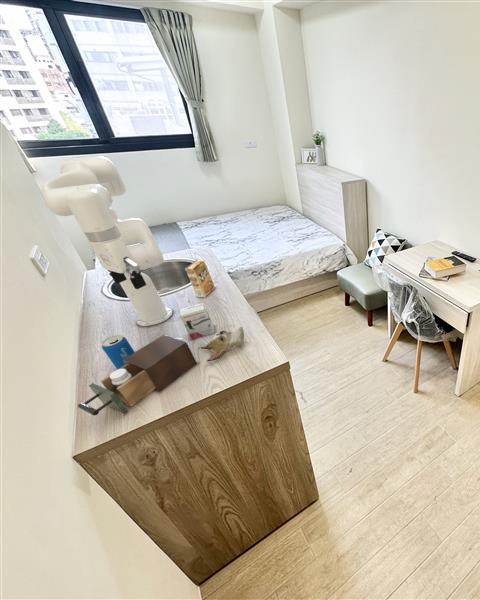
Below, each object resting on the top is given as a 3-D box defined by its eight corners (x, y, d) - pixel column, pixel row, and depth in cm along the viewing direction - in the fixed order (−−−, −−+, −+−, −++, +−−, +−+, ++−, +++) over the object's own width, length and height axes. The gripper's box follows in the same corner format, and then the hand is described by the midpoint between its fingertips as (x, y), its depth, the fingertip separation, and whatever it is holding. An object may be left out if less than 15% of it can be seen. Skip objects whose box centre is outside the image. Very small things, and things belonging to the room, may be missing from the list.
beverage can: (124, 375, 107) (105, 349, 100) (114, 369, 110) (96, 342, 103) (144, 363, 112) (128, 337, 105) (135, 357, 114) (118, 331, 108)
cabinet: (160, 392, 101) (145, 369, 95) (137, 382, 105) (122, 359, 99) (197, 363, 111) (186, 342, 106) (175, 355, 115) (163, 334, 109)
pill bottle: (123, 389, 99) (109, 370, 95) (141, 384, 101) (128, 365, 97) (120, 400, 96) (106, 381, 91) (139, 394, 98) (125, 375, 93)
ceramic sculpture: (245, 329, 113) (200, 350, 105) (253, 347, 118) (210, 368, 110) (236, 316, 120) (193, 335, 112) (244, 334, 125) (203, 352, 117)
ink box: (191, 340, 122) (179, 315, 116) (190, 333, 126) (178, 309, 119) (215, 332, 126) (205, 308, 120) (213, 326, 130) (203, 302, 123)
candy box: (205, 297, 148) (193, 268, 139) (196, 297, 148) (184, 268, 140) (215, 287, 155) (204, 259, 147) (207, 287, 155) (195, 259, 147)
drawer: (106, 428, 89) (89, 409, 85) (85, 417, 92) (68, 398, 88) (164, 384, 103) (153, 365, 98) (144, 375, 106) (132, 357, 101)
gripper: (71, 234, 93) (101, 284, 102) (107, 243, 87) (136, 295, 97) (99, 226, 99) (126, 274, 108) (135, 233, 93) (160, 283, 102)
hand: (131, 284), depth 102 cm, fingers open, 9 cm apart
